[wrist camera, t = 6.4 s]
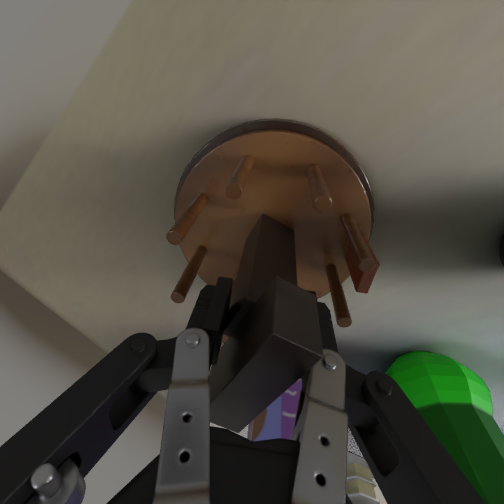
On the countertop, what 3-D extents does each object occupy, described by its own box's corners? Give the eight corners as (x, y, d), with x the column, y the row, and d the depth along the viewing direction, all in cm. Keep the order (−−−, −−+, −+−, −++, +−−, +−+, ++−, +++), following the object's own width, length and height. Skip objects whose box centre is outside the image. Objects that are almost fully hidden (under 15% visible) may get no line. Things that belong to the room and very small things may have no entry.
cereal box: (262, 325, 30) (214, 838, 10) (306, 331, 30) (352, 869, 9) (250, 412, 39) (211, 768, 19) (283, 417, 39) (281, 783, 19)
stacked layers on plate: (346, 450, 42) (354, 496, 37) (390, 470, 44) (403, 516, 39) (305, 470, 47) (307, 513, 42) (346, 487, 49) (353, 530, 44)
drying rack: (155, 255, 25) (39, 408, 13) (226, 82, 17) (103, 81, 6) (297, 323, 27) (306, 502, 16) (413, 198, 20) (596, 364, 8)
